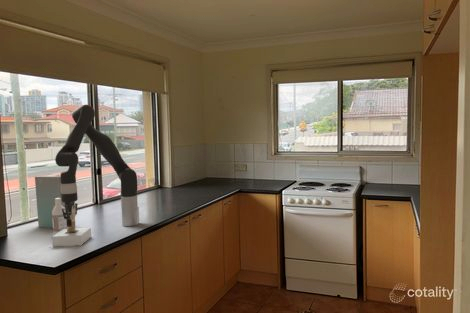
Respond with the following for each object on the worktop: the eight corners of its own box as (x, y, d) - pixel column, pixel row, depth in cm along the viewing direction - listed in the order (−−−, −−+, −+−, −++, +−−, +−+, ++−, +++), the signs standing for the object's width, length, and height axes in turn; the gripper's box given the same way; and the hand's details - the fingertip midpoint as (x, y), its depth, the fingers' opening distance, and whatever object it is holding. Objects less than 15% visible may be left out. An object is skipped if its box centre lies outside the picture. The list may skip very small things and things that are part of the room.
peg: (77, 231, 196) (75, 208, 195) (73, 233, 192) (72, 209, 191) (69, 231, 196) (67, 208, 195) (65, 233, 192) (64, 210, 191)
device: (70, 224, 229) (67, 175, 226) (61, 228, 222) (57, 176, 219) (48, 223, 234) (44, 174, 231) (38, 226, 226) (34, 176, 224)
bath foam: (53, 233, 210) (51, 197, 208) (67, 232, 213) (64, 196, 211) (53, 237, 204) (50, 200, 202) (67, 235, 206) (65, 198, 205)
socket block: (91, 237, 202) (90, 227, 201) (81, 245, 188) (80, 235, 187) (64, 238, 201) (63, 228, 201) (52, 246, 187) (51, 236, 187)
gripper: (70, 194, 185) (73, 229, 187) (81, 189, 200) (83, 221, 201) (55, 194, 185) (57, 229, 187) (67, 189, 199) (69, 222, 201)
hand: (71, 225), depth 194 cm, fingers closed on peg, 4 cm apart
